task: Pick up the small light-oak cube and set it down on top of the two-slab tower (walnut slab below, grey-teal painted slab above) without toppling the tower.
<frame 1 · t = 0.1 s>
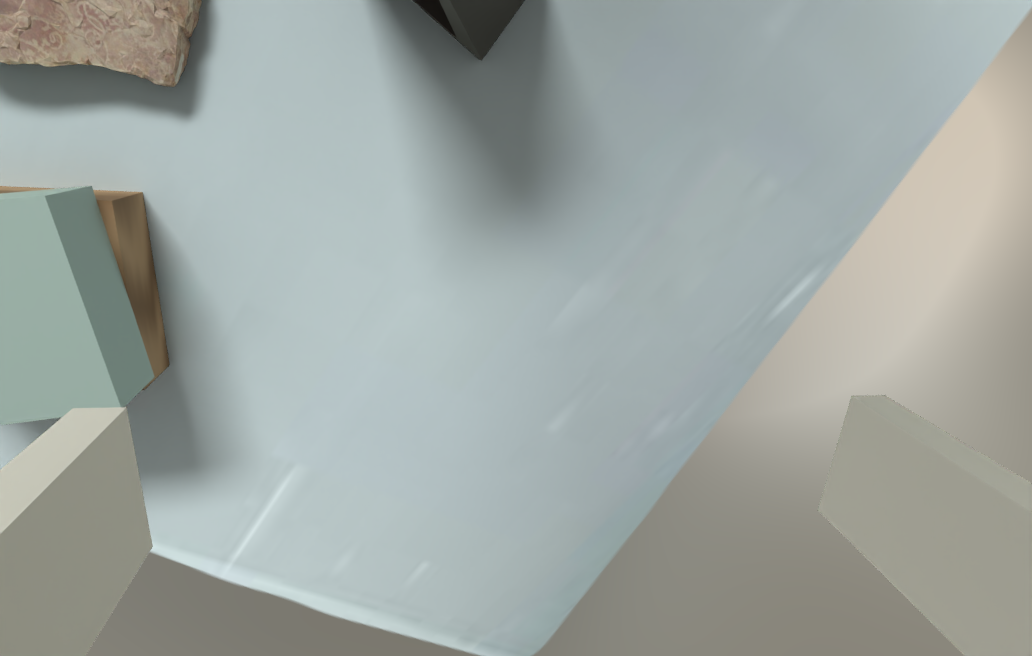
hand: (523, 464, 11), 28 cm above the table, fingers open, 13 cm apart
tower top: (16, 298, 31), point 4 cm above the table, touching tower base
tower base: (60, 279, 34), on the table, touching tower top
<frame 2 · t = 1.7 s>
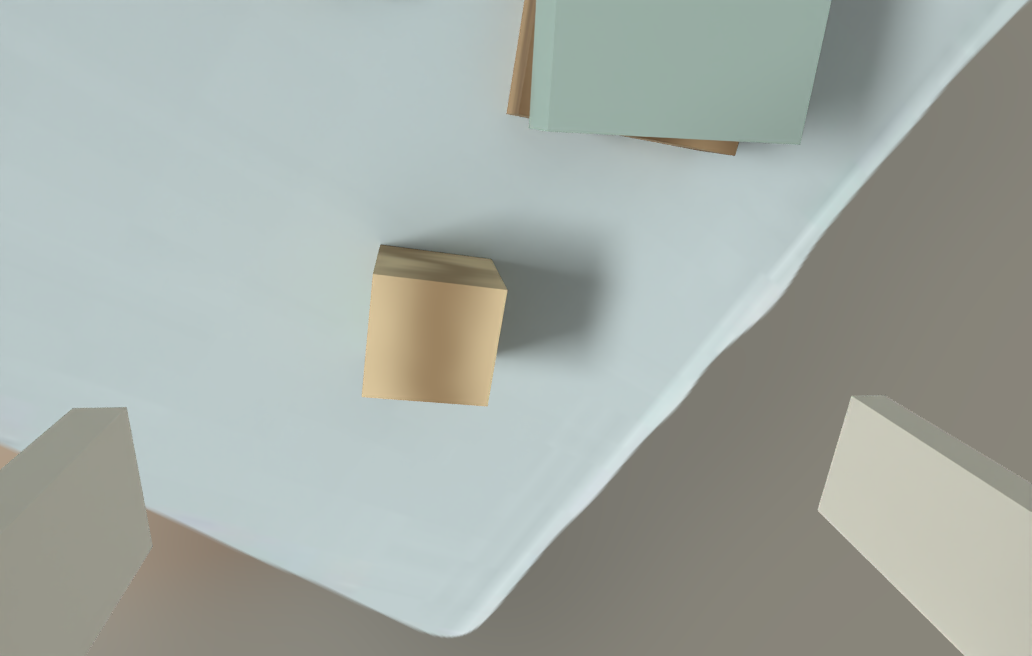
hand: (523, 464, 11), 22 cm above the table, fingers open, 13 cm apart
tower top: (659, 2, 25), point 3 cm above the table, touching tower base
tower base: (629, 19, 29), on the table, touching tower top
oak block: (430, 303, 32), on the table
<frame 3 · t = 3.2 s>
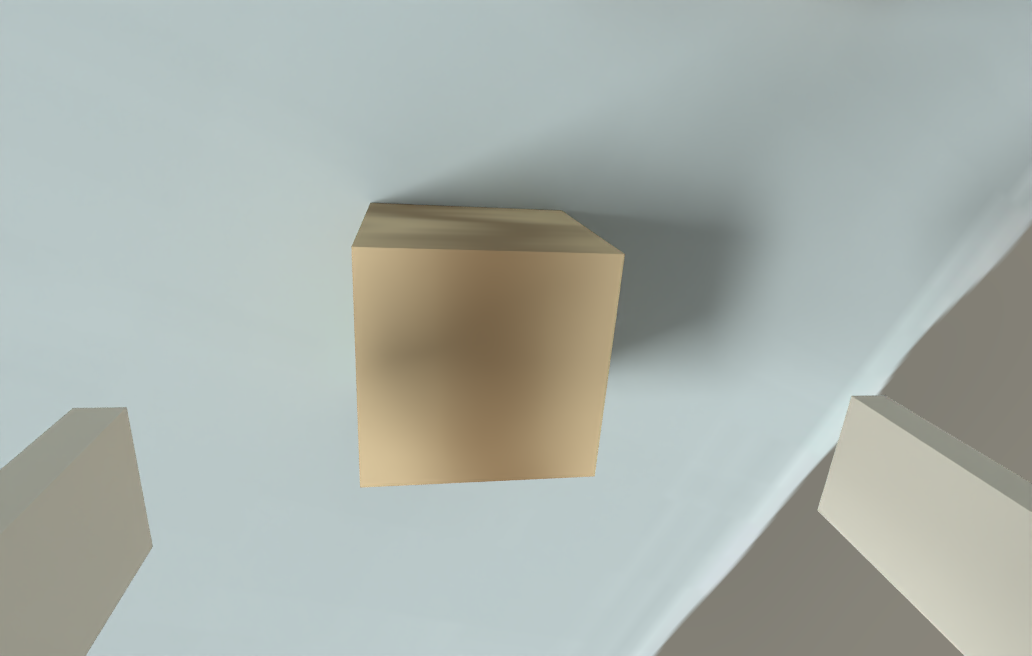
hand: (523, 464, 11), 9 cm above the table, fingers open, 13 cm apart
oak block: (465, 297, 19), on the table
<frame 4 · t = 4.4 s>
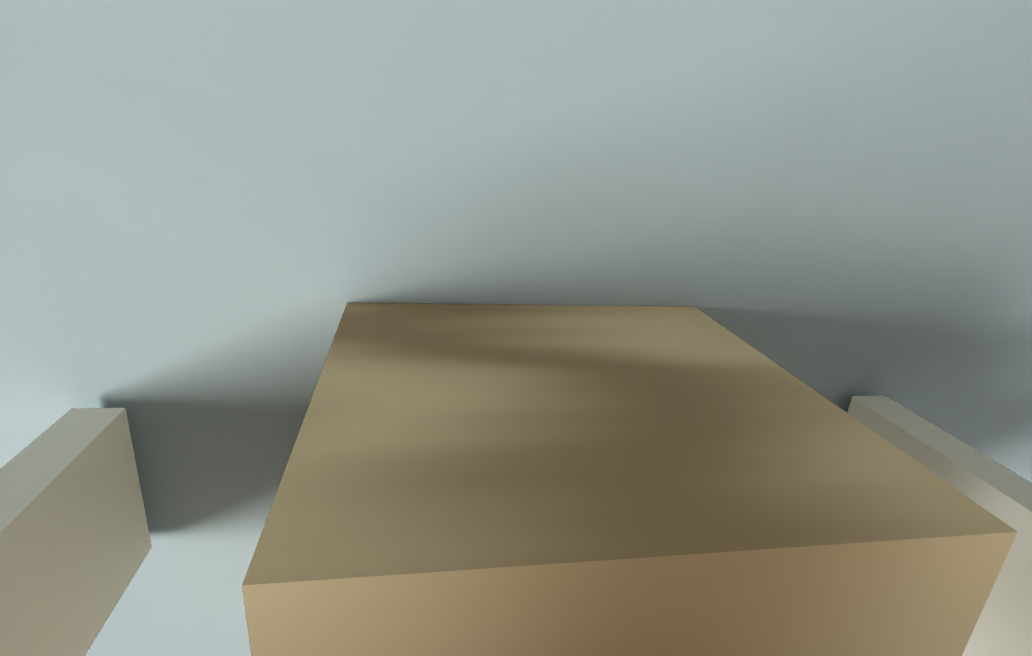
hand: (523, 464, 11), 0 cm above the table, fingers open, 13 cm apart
oak block: (518, 454, 11), on the table
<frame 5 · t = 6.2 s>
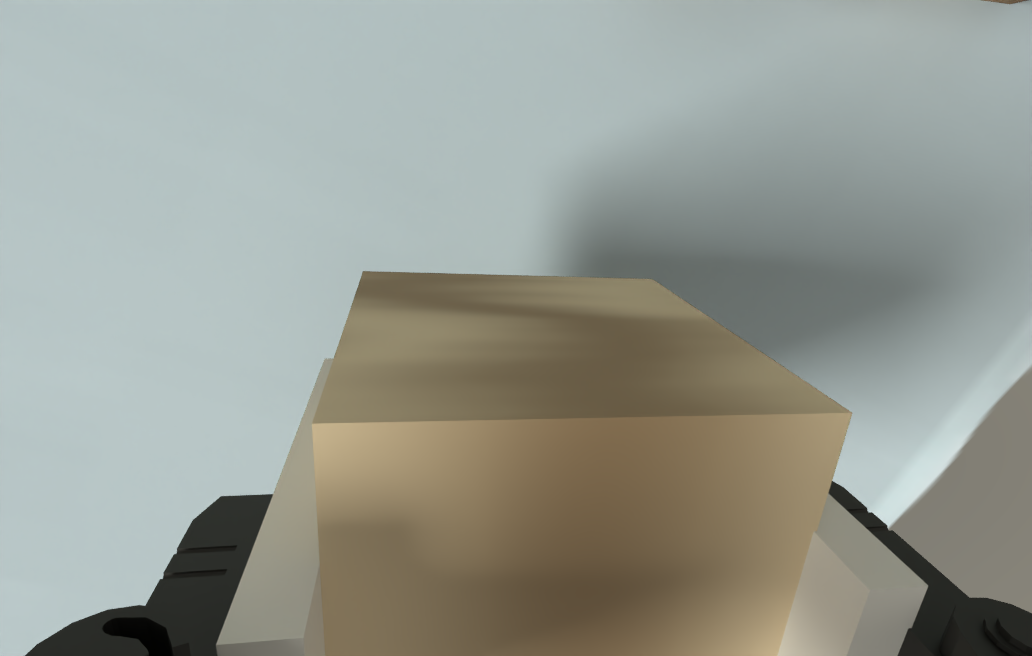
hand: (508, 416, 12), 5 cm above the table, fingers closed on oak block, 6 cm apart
oak block: (505, 406, 13), point 4 cm above the table, touching gripper
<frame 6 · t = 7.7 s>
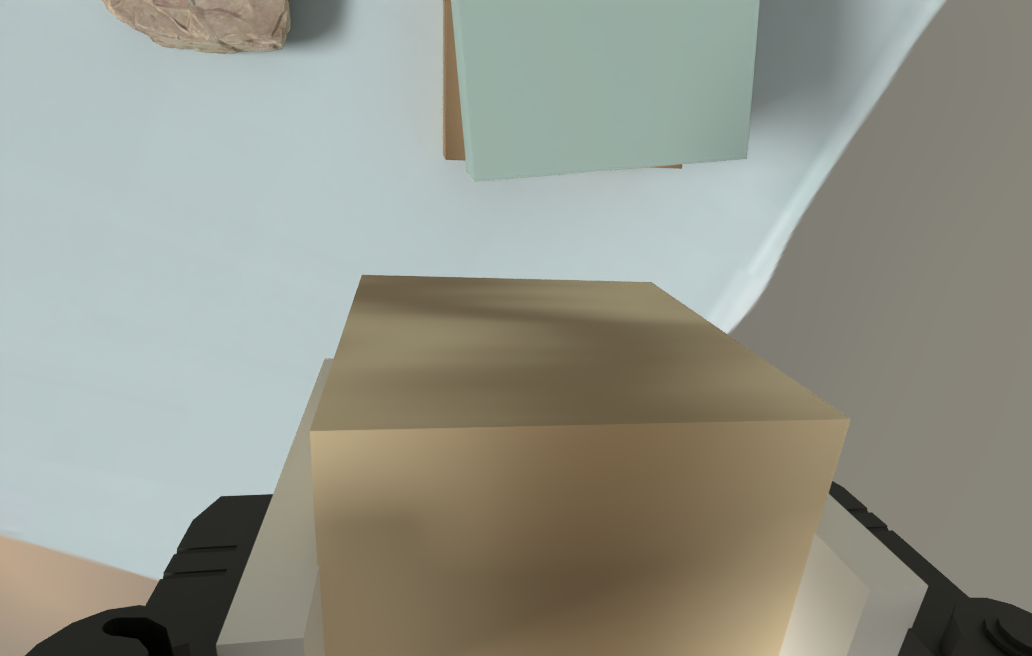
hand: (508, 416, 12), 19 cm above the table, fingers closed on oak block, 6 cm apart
tower top: (584, 25, 24), point 4 cm above the table
tower base: (556, 40, 28), on the table
oak block: (504, 409, 13), point 18 cm above the table, touching gripper
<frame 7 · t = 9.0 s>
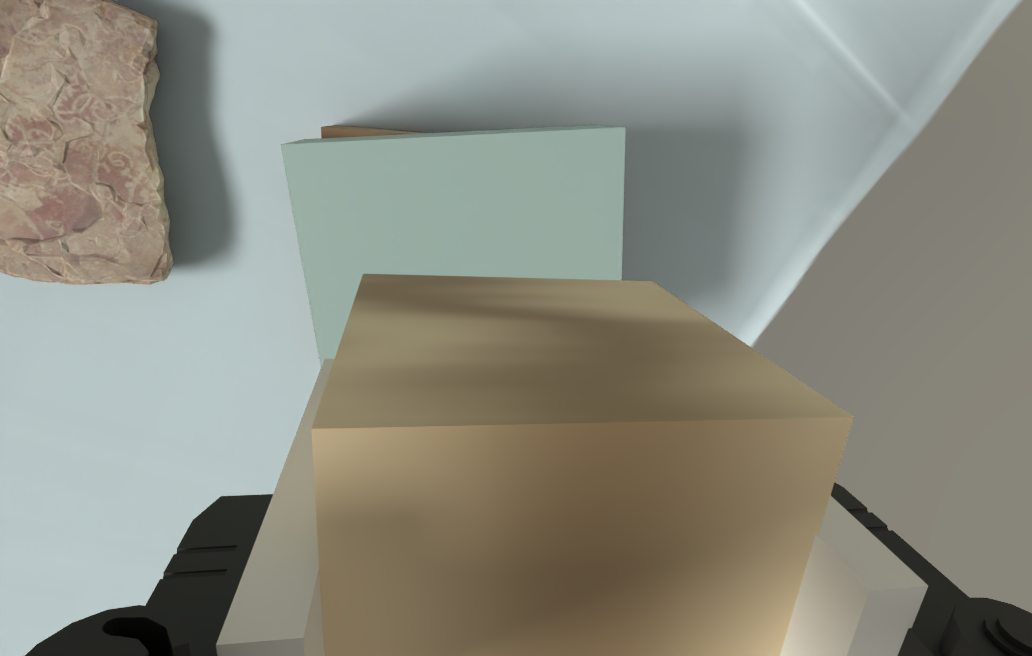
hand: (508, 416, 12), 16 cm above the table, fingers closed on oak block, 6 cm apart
tower top: (463, 270, 24), point 3 cm above the table, touching tower base
stone: (35, 110, 23), on the table
tower base: (456, 254, 28), on the table, touching tower top
oak block: (505, 408, 13), point 16 cm above the table, touching gripper
when the fingers open (8 cm above the table, at t = 11.0 s): oak block stays where it is, resting on tower top.
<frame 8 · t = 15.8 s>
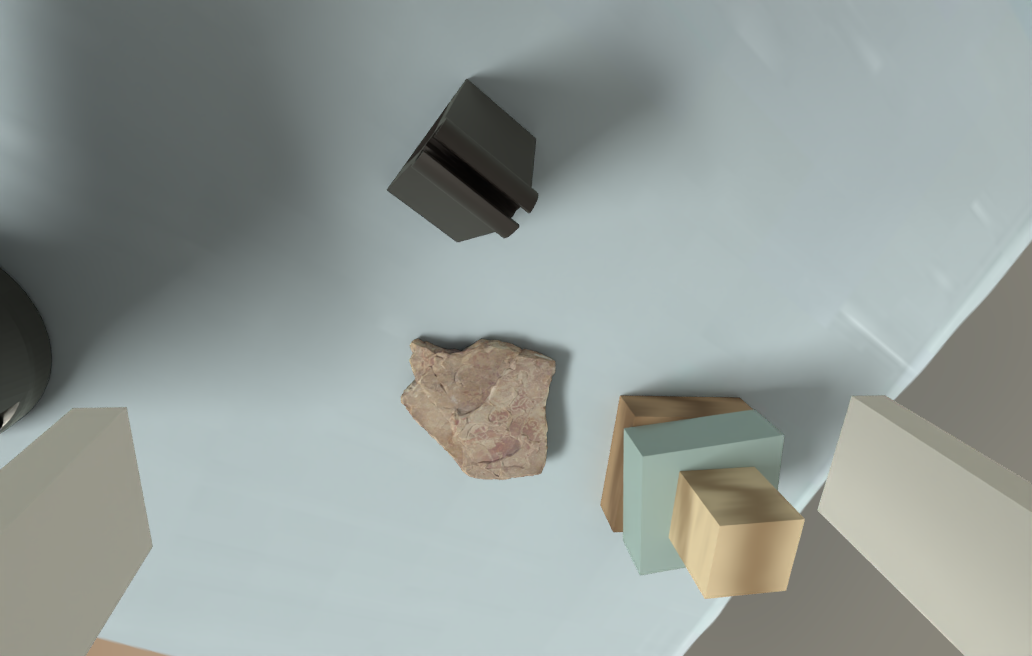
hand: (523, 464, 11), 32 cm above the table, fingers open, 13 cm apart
tower top: (687, 476, 47), point 4 cm above the table, touching oak block, tower base
stone: (480, 394, 46), on the table
tower base: (667, 449, 51), on the table, touching tower top
phone stand: (461, 163, 39), on the table
oak block: (710, 502, 43), point 8 cm above the table, touching tower top
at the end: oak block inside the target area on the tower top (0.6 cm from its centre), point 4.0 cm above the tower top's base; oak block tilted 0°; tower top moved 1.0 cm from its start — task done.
